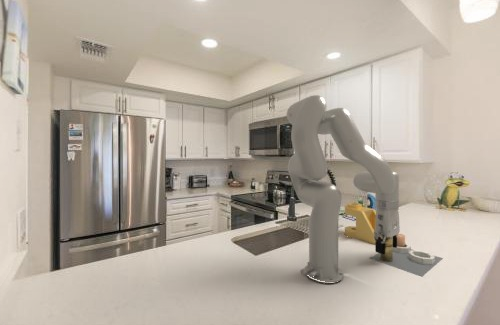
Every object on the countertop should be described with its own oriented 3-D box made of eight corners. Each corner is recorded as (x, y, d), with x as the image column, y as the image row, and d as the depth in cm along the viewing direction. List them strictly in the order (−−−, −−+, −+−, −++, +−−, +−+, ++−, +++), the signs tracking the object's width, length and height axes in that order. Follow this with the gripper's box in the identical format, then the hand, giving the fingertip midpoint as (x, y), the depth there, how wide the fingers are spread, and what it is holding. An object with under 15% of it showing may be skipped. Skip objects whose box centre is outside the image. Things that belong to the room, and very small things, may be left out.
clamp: (340, 234, 119) (340, 203, 118) (353, 231, 123) (353, 201, 122) (376, 248, 101) (376, 211, 100) (390, 244, 105) (390, 209, 104)
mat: (421, 280, 75) (422, 276, 75) (368, 261, 88) (369, 258, 88) (443, 261, 88) (443, 258, 88) (394, 247, 101) (394, 244, 101)
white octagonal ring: (429, 266, 81) (430, 260, 81) (406, 258, 87) (406, 253, 87) (436, 260, 86) (436, 255, 86) (413, 253, 92) (413, 248, 92)
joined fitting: (405, 254, 91) (405, 239, 91) (385, 248, 97) (385, 234, 97) (412, 250, 95) (413, 235, 95) (393, 244, 101) (393, 231, 101)
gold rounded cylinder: (389, 262, 84) (389, 234, 84) (378, 259, 87) (378, 231, 87) (394, 259, 87) (394, 232, 86) (383, 256, 90) (383, 229, 90)
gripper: (386, 209, 78) (386, 259, 79) (407, 203, 88) (407, 247, 89) (364, 206, 84) (364, 252, 85) (386, 200, 94) (386, 241, 95)
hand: (386, 249), depth 87 cm, fingers open, 9 cm apart
